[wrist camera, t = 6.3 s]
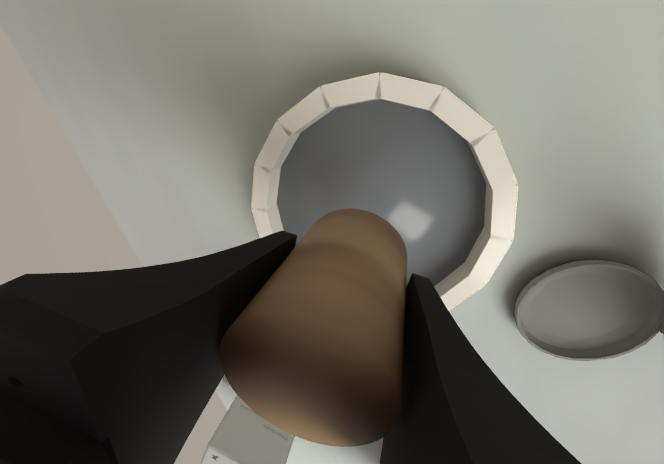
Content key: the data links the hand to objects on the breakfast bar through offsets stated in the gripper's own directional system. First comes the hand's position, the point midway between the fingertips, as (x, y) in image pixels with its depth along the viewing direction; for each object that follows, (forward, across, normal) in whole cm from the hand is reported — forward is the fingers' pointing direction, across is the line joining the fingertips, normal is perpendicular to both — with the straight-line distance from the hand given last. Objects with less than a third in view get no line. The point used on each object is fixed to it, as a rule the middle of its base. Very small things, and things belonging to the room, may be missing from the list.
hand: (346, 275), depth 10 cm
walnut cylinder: (+1, 0, 0) cm, 1 cm away
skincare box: (+8, +4, +22) cm, 24 cm away
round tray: (+7, 0, 0) cm, 7 cm away
